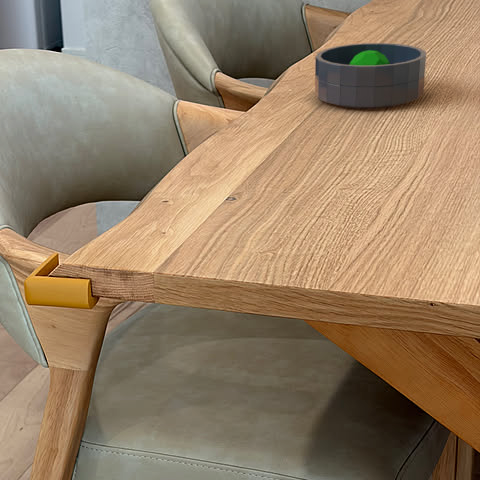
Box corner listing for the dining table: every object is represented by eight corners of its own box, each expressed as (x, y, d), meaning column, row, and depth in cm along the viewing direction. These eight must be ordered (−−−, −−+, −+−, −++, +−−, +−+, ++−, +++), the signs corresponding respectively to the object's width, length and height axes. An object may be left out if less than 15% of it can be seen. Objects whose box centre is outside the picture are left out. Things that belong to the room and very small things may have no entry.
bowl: (445, 94, 106) (448, 50, 104) (376, 117, 100) (378, 71, 97) (362, 79, 115) (363, 39, 113) (293, 100, 108) (293, 57, 106)
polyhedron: (354, 86, 110) (355, 46, 108) (394, 89, 108) (396, 47, 106) (341, 97, 106) (342, 55, 104) (383, 99, 104) (385, 57, 102)
